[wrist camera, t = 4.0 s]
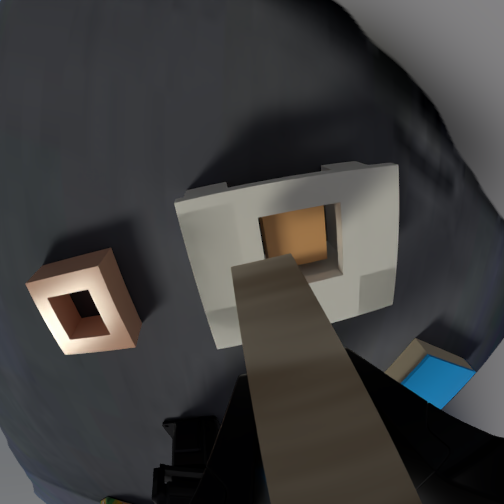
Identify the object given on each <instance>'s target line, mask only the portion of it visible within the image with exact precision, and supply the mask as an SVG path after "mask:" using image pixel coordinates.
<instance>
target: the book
mask: <svg viewBox="0 0 504 504" xmlns="http://www.w3.org/2000/svg"><path fill="white" fill-rule="evenodd" d="M384 373H386V374H387V375H389V376H390V377H392V378H393V379H395V380H396V381H398V382H399V383H401V384H402V385H404V386H405V387H407V388H408V389H410V390H411V391H413V392H414V393H416V394H417V395H419V396H420V397H422V398H423V399H425V400H426V401H427V402H428V403H431V404H433V405H434V406H436V407H437V408H439V409H442V408H443V407H444V406H445V405H446V404H447V403H448V402H449V401H450V400H451V399H452V398H453V397H454V396H455V395H456V394H457V392H458V391H459V390H460V389H461V388H462V387H463V386H464V385H465V384H466V383H467V382H468V381H469V380H470V378H471V377H472V376H473V375H474V374H475V373H476V372H475V371H474V369H473V368H472V366H471V365H470V364H469V363H468V362H467V361H466V360H465V359H463V358H461V357H459V356H457V355H454V354H452V353H449V352H447V351H445V350H442V349H440V348H438V347H435V346H433V345H431V344H428V343H426V342H424V341H421V340H419V339H417V338H414V340H413V341H412V342H411V343H410V344H409V346H408V347H407V348H406V349H405V350H404V351H403V353H402V354H401V355H400V356H399V357H398V358H397V359H396V360H395V362H394V363H393V364H392V365H391V366H390V367H389V368H388V369H387V370H386V371H385V372H384Z"/></svg>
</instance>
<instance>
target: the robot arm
mask: <svg viewBox="0 0 504 504" xmlns="http://www.w3.org/2000/svg"><path fill="white" fill-rule="evenodd" d="M344 349H345V350H346V352H347V354H348V356H349V358H350V360H351V362H352V363H353V365H354V367H355V369H356V371H357V373H358V375H359V377H360V378H361V380H362V382H363V384H364V386H365V388H366V390H367V392H368V394H369V396H370V398H371V400H372V401H373V403H374V405H375V407H376V409H377V411H378V413H379V415H380V417H381V419H382V421H383V423H384V425H385V427H386V429H387V431H388V433H389V435H390V437H391V439H392V441H393V443H394V445H395V447H396V449H397V451H398V453H399V455H400V458H401V460H402V462H403V464H404V466H405V468H406V470H407V472H408V474H409V476H410V479H411V481H412V483H413V485H414V487H415V489H416V491H417V494H418V496H419V498H420V500H421V502H422V504H504V438H502V437H497V436H493V435H491V434H489V433H487V432H484V431H482V430H480V429H478V428H476V427H473V426H471V425H469V424H467V423H464V422H462V421H460V420H459V419H457V418H455V417H453V416H451V415H449V414H447V413H445V412H444V411H442V410H441V409H439V408H437V407H436V406H434V405H433V404H431V403H428V402H427V401H426V400H425V399H423V398H422V397H420V396H419V395H417V394H416V393H414V392H413V391H411V390H410V389H408V388H407V387H405V386H404V385H402V384H401V383H399V382H398V381H396V380H395V379H393V378H392V377H390V376H389V375H387V374H386V373H384V372H383V371H381V370H380V369H378V368H377V367H375V366H374V365H372V364H371V363H369V362H368V361H366V360H365V359H363V358H362V357H360V356H359V355H358V354H356V353H355V352H353V351H352V350H350V349H349V348H344ZM162 426H163V427H164V429H165V430H166V431H167V432H168V434H169V435H170V436H171V437H172V439H173V440H172V466H169V465H165V464H160V468H159V467H158V468H154V472H153V488H152V501H153V502H154V503H155V504H271V502H270V497H269V492H268V487H267V482H266V476H265V471H264V466H263V461H262V455H261V450H260V445H259V439H258V434H257V428H256V422H255V417H254V411H253V405H252V400H251V394H250V388H249V382H248V376H247V374H242V375H239V377H238V379H237V382H236V385H235V387H234V390H233V393H232V396H231V399H230V402H229V405H228V407H227V410H226V413H225V416H224V419H223V421H222V424H221V425H220V424H219V422H218V420H217V418H216V417H215V416H209V417H202V418H193V419H184V420H174V421H164V422H163V425H162ZM165 482H167V484H165Z"/></svg>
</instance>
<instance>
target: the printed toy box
mask: <svg viewBox="0 0 504 504" xmlns="http://www.w3.org/2000/svg"><path fill="white" fill-rule="evenodd" d="M100 504H131V503H127V502H123V501H120V500H116V499H113V498H110V497H106V498H105V499H103V500H101V501H100Z"/></svg>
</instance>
